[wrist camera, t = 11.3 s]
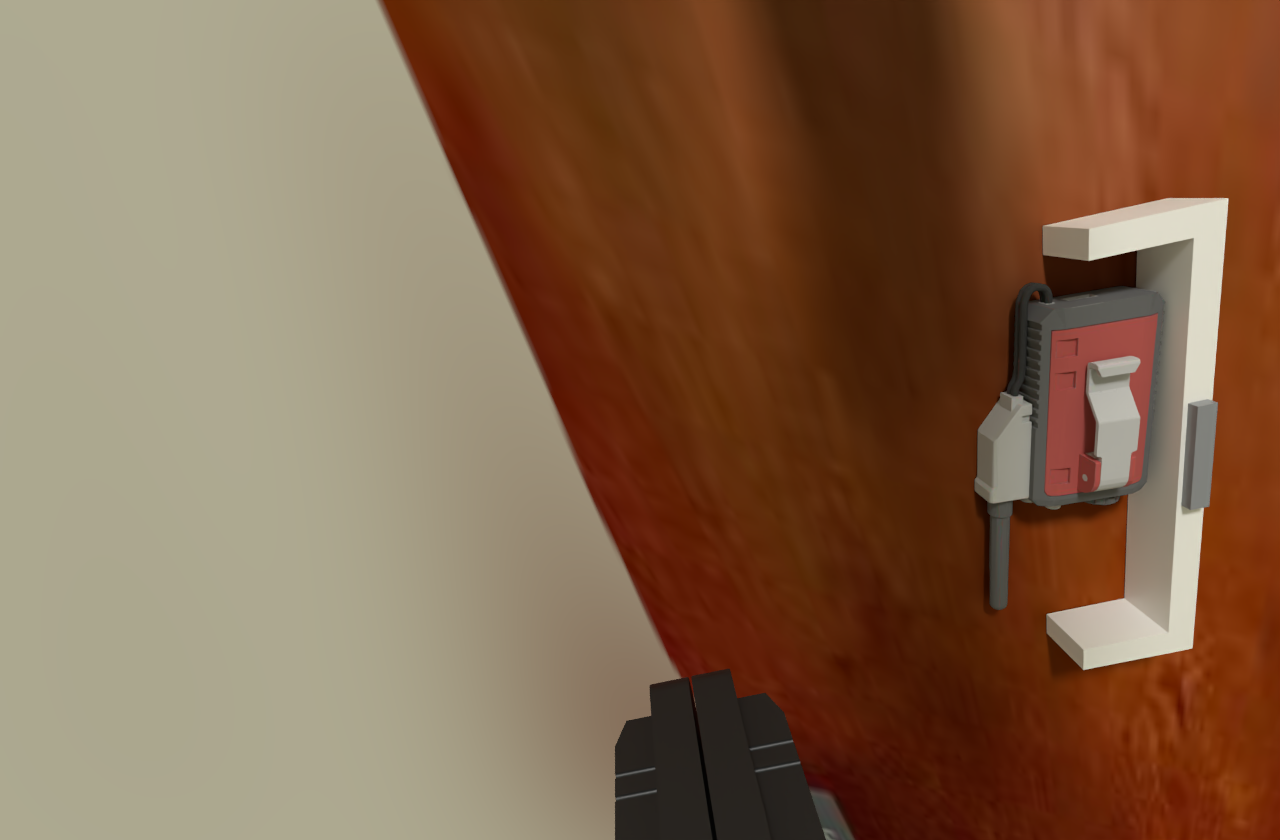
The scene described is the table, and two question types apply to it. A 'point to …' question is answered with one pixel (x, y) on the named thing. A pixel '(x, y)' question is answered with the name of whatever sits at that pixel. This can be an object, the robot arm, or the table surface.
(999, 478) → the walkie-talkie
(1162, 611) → the white c-shaped bracket
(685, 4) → the table surface
